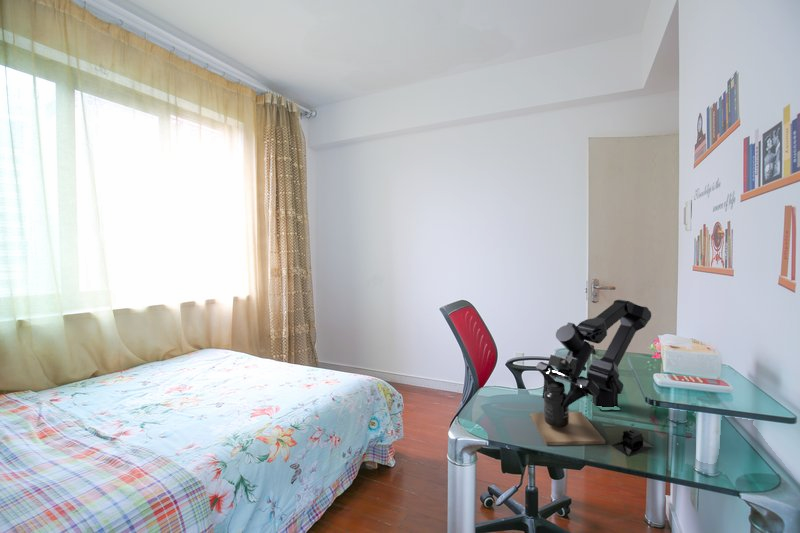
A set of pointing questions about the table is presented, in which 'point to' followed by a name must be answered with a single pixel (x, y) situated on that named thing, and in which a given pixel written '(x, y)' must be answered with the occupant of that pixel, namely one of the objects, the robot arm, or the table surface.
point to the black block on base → (632, 443)
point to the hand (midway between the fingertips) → (553, 402)
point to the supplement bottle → (555, 405)
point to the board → (568, 431)
